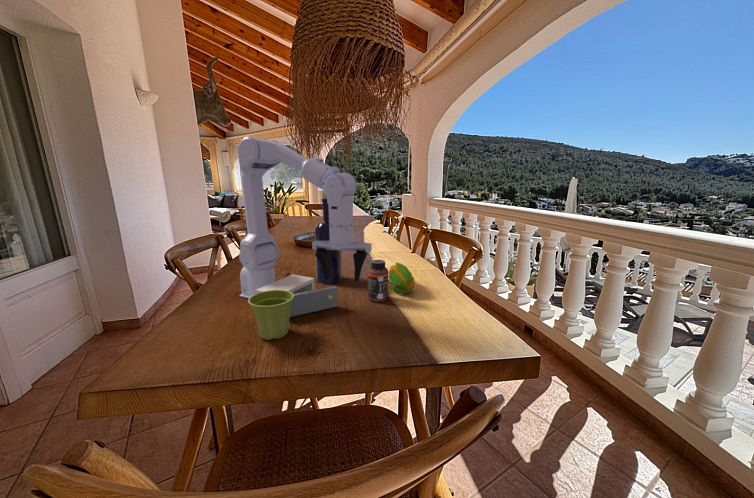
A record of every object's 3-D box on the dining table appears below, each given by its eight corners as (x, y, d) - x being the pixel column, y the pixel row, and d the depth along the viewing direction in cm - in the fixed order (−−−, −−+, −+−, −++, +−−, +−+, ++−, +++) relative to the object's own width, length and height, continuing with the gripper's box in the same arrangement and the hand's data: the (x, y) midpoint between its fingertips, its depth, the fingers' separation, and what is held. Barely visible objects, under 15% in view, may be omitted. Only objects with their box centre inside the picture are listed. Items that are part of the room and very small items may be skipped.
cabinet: (257, 311, 77) (255, 289, 75) (293, 293, 89) (292, 274, 88) (281, 317, 74) (279, 294, 72) (315, 297, 86) (314, 278, 85)
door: (280, 317, 73) (278, 296, 72) (335, 304, 81) (335, 286, 79) (282, 320, 72) (280, 299, 70) (338, 307, 79) (338, 288, 78)
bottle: (320, 274, 106) (317, 190, 100) (345, 276, 105) (343, 190, 98) (311, 283, 98) (307, 191, 91) (338, 285, 96) (336, 191, 89)
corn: (396, 274, 83) (381, 256, 102) (394, 299, 85) (380, 277, 104) (421, 274, 85) (402, 256, 104) (418, 299, 87) (400, 277, 106)
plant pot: (273, 320, 72) (271, 287, 70) (304, 328, 68) (302, 293, 66) (242, 338, 64) (238, 301, 62) (275, 348, 60) (271, 309, 58)
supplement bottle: (386, 303, 82) (386, 264, 79) (365, 302, 83) (365, 263, 81) (389, 295, 88) (390, 259, 85) (370, 294, 89) (370, 257, 86)
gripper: (305, 226, 68) (308, 281, 71) (366, 228, 65) (366, 286, 68) (317, 222, 75) (320, 273, 78) (373, 223, 72) (373, 276, 75)
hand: (342, 278), depth 74 cm, fingers open, 7 cm apart
